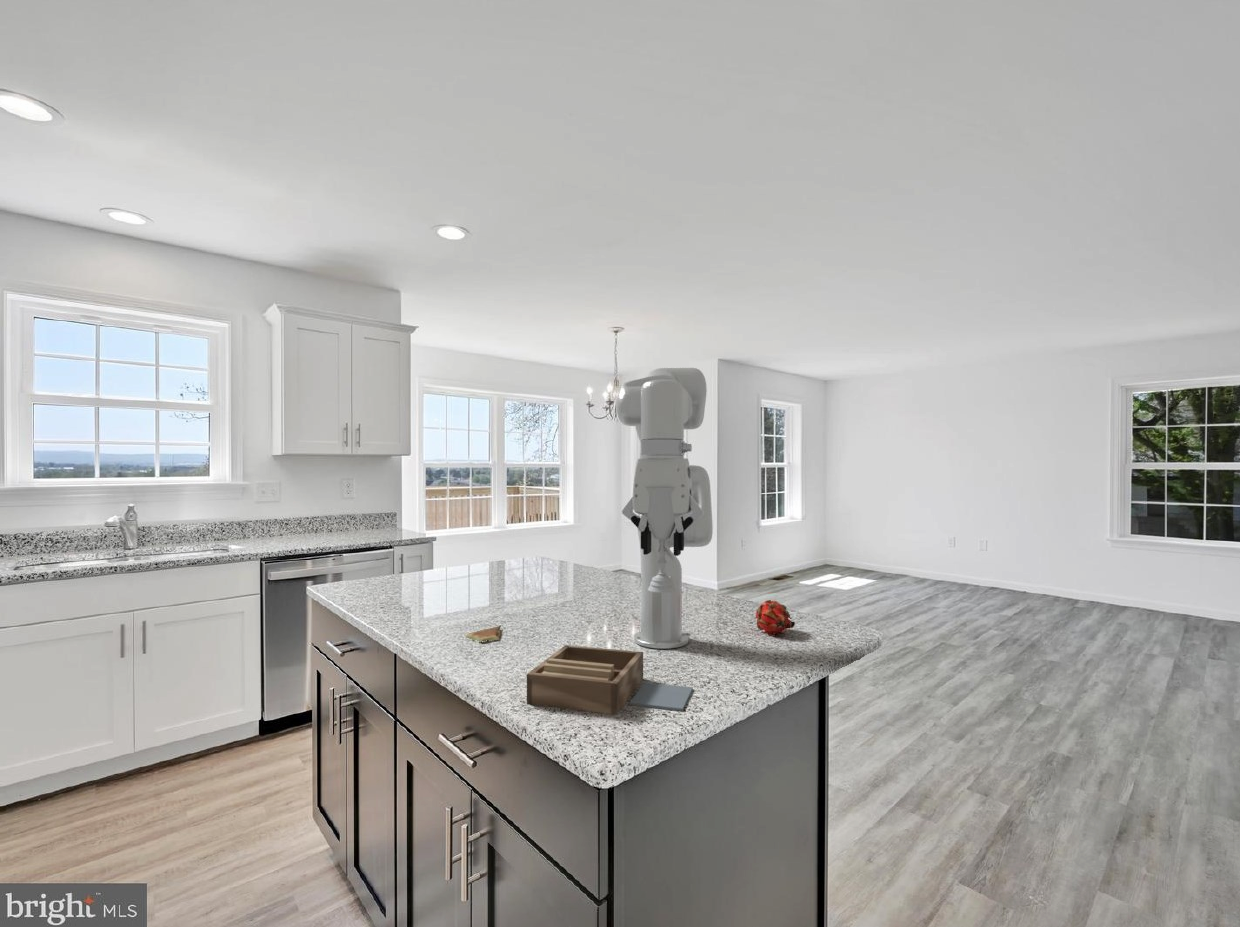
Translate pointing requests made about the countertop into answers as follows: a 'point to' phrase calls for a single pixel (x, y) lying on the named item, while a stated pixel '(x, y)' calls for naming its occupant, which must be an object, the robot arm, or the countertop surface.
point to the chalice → (661, 533)
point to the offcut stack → (579, 669)
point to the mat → (662, 696)
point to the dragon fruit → (773, 618)
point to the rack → (587, 681)
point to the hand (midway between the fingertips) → (662, 553)
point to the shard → (485, 634)
